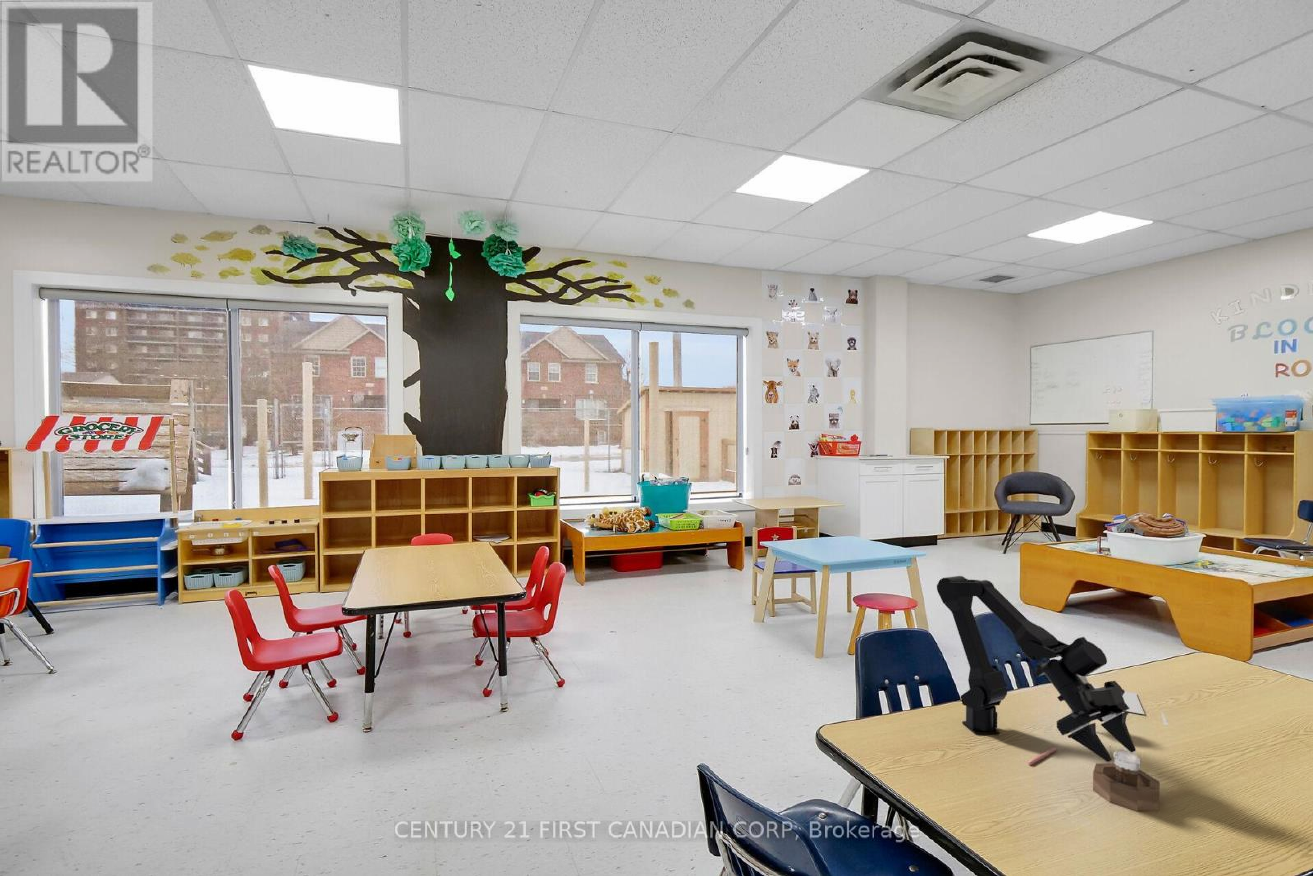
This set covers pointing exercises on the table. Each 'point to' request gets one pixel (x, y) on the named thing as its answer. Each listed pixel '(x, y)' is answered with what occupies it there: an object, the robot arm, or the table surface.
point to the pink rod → (1042, 756)
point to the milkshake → (1126, 767)
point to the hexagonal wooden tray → (1126, 789)
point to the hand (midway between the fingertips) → (1122, 756)
